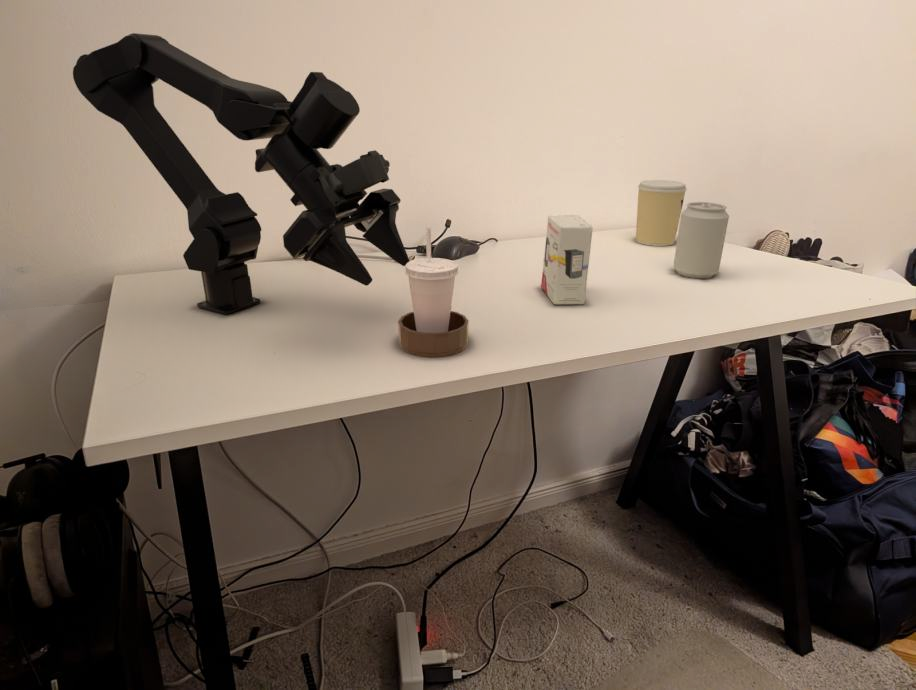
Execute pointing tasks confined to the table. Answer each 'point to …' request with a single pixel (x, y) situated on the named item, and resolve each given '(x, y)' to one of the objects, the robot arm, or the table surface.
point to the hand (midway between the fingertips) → (389, 273)
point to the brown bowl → (433, 337)
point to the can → (701, 239)
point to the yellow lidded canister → (659, 211)
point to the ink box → (566, 259)
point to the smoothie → (431, 290)
